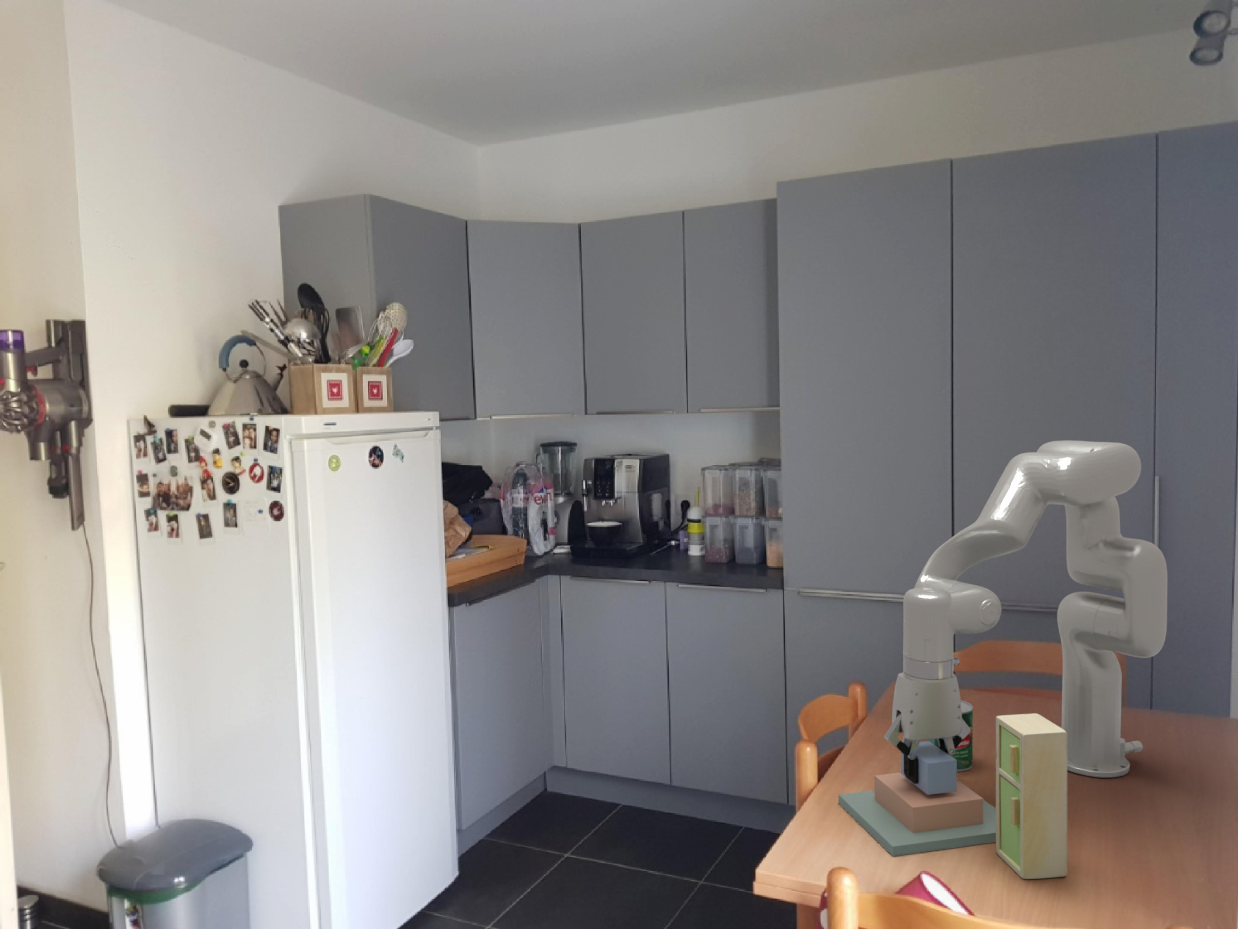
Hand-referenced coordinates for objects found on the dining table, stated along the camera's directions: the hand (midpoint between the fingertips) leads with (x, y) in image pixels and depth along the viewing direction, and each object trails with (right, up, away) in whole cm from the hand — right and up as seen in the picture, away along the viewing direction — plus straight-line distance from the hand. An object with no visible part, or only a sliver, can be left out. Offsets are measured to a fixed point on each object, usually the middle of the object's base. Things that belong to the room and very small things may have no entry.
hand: (927, 777), depth 144 cm
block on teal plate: (0, -7, 0) cm, 7 cm away
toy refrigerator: (+10, -8, -14) cm, 19 cm away
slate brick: (0, -1, 0) cm, 1 cm away
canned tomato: (+12, -5, +22) cm, 26 cm away
